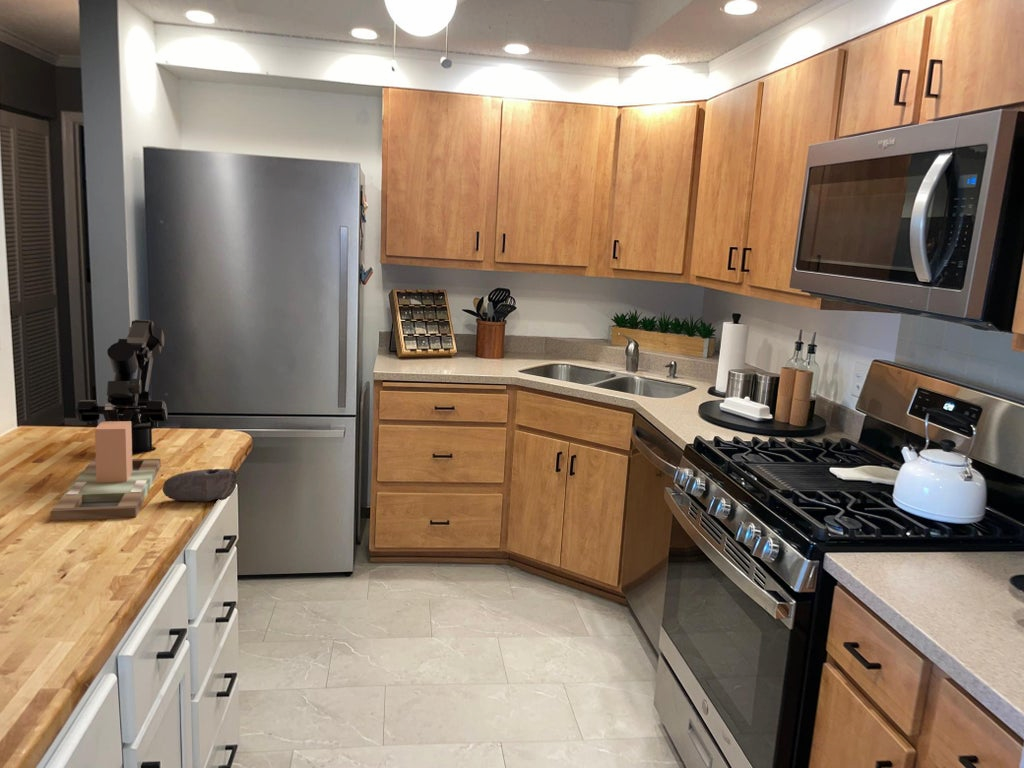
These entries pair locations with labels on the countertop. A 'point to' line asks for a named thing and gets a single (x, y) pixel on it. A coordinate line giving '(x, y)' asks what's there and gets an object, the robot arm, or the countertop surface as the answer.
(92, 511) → the trap board
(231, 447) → the countertop surface
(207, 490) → the perforated stone tool
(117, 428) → the terracotta block
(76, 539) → the countertop surface
